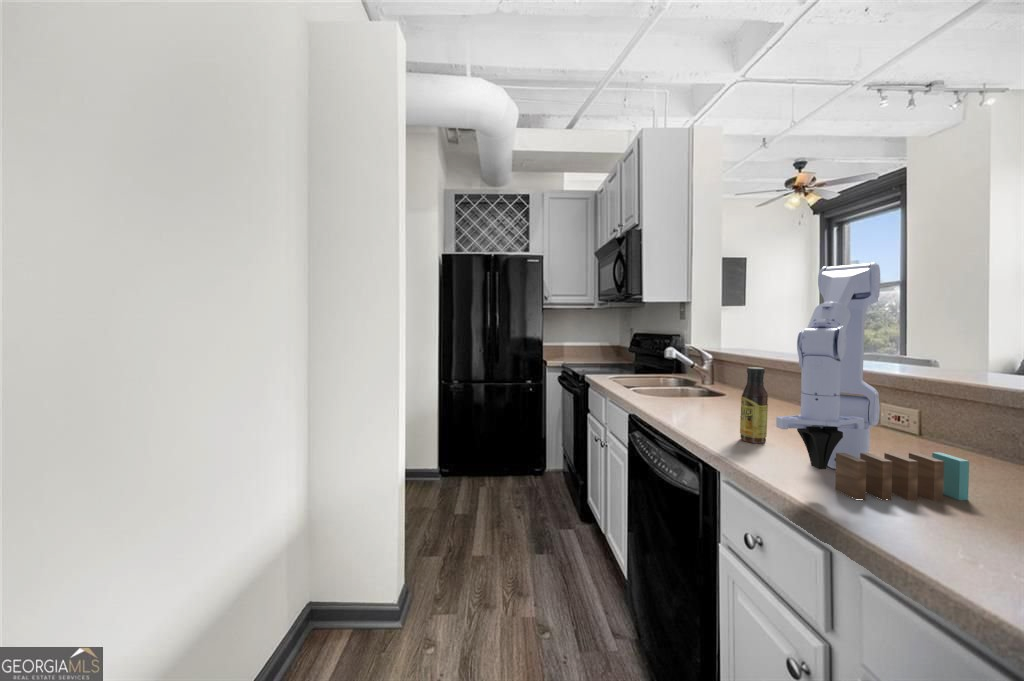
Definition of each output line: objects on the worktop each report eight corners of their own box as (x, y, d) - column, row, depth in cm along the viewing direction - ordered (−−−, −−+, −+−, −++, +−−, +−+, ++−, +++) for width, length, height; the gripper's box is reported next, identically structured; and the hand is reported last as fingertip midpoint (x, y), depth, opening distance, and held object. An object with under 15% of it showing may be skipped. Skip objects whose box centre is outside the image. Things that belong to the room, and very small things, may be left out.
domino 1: (856, 500, 75) (857, 461, 75) (835, 489, 80) (836, 452, 80) (865, 500, 75) (866, 461, 75) (843, 489, 80) (844, 452, 80)
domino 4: (933, 500, 75) (934, 461, 74) (907, 489, 80) (908, 452, 79) (943, 500, 75) (944, 461, 74) (916, 489, 80) (917, 452, 79)
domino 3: (907, 500, 75) (908, 461, 74) (883, 489, 80) (884, 452, 80) (917, 500, 75) (918, 461, 74) (892, 489, 80) (893, 452, 79)
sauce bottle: (735, 438, 116) (736, 366, 116) (758, 438, 116) (759, 366, 116) (748, 444, 110) (748, 368, 109) (772, 444, 110) (773, 368, 109)
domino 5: (958, 500, 75) (960, 461, 74) (931, 489, 80) (932, 452, 79) (968, 500, 75) (969, 461, 74) (940, 489, 80) (941, 452, 79)
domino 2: (882, 500, 75) (883, 461, 75) (859, 489, 80) (860, 452, 80) (891, 500, 75) (892, 461, 75) (868, 489, 80) (868, 452, 80)
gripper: (794, 397, 73) (792, 475, 73) (879, 397, 73) (877, 475, 73) (769, 391, 80) (768, 462, 81) (847, 390, 80) (845, 462, 80)
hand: (818, 467), depth 77 cm, fingers closed
